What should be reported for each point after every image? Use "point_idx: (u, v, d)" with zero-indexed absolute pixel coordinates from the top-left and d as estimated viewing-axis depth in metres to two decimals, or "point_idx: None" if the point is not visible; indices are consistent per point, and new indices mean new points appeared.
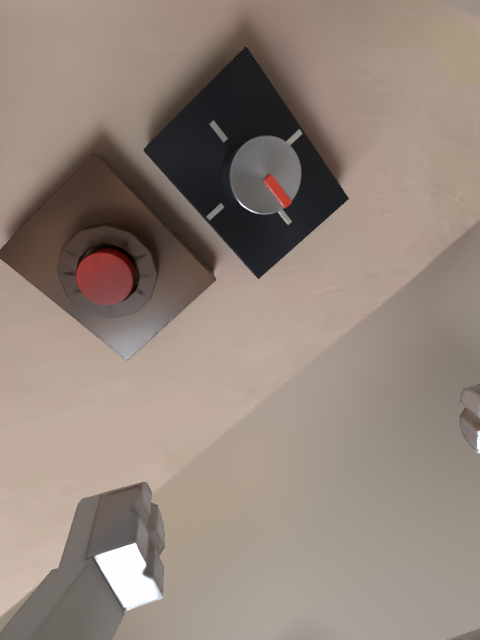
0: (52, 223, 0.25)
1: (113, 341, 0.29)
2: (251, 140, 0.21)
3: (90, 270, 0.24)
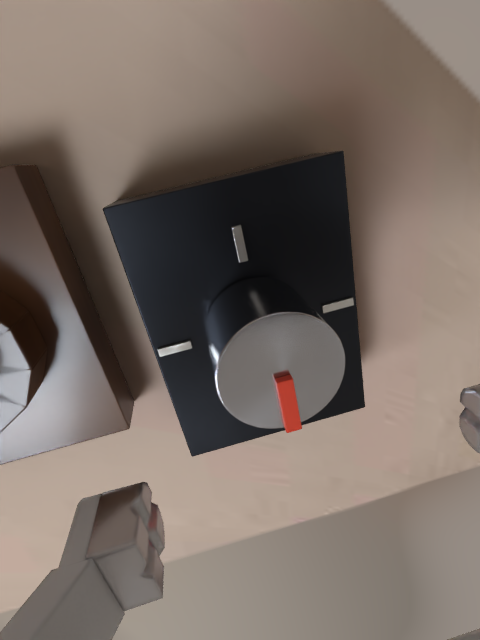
0: None
1: None
2: (288, 314, 0.11)
3: None
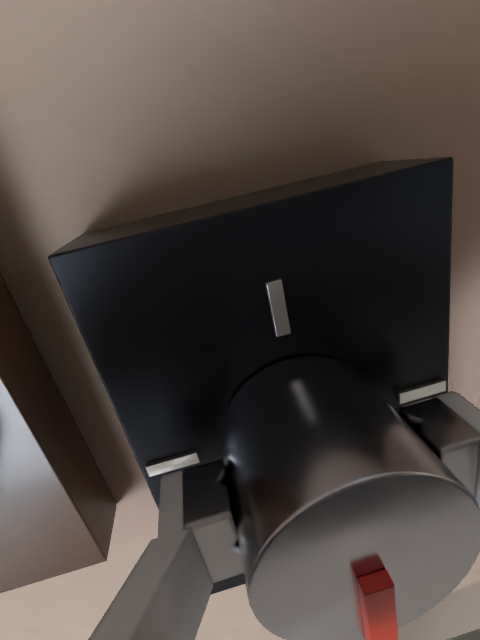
0: None
1: None
2: (396, 477, 0.06)
3: None
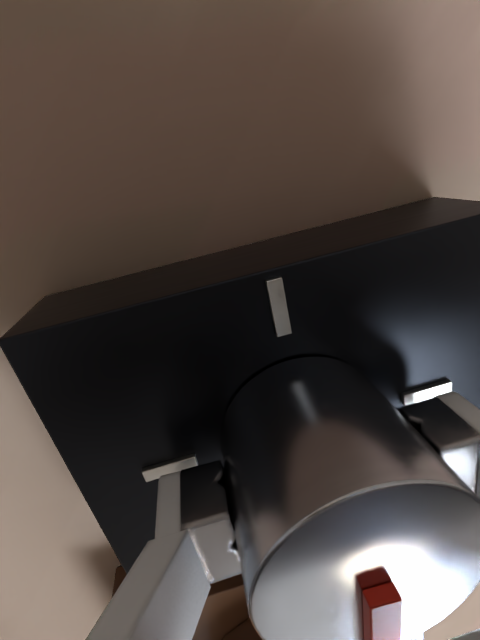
0: None
1: None
2: (412, 485, 0.05)
3: None
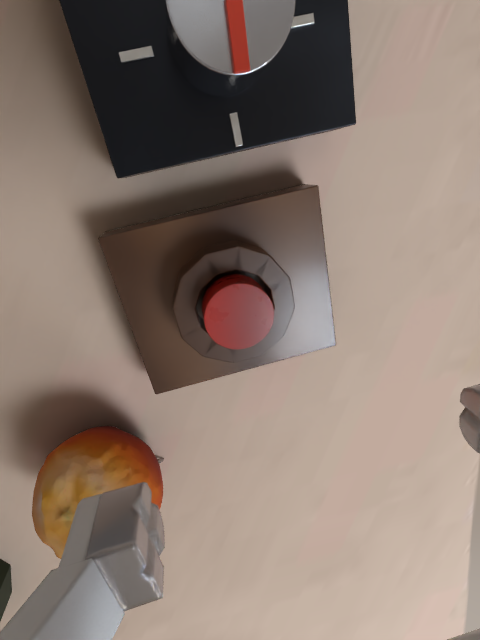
0: (151, 327, 0.21)
1: (306, 345, 0.23)
2: None
3: (220, 325, 0.18)
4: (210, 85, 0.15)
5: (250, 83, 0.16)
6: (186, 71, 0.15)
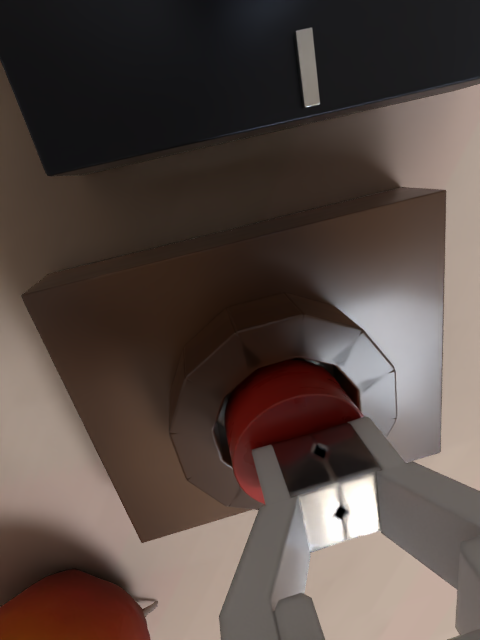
0: (132, 444, 0.12)
1: None
2: None
3: None
4: None
5: None
6: None
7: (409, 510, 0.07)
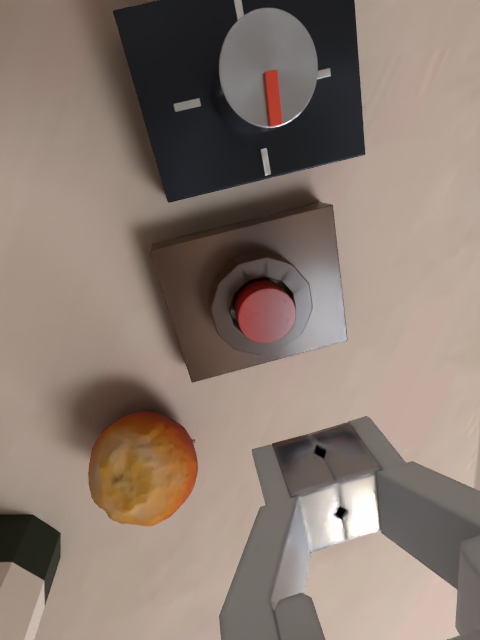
0: (190, 324, 0.25)
1: (322, 340, 0.27)
2: (276, 9, 0.15)
3: (251, 323, 0.22)
4: (247, 131, 0.18)
5: None
6: (228, 120, 0.18)
7: (409, 510, 0.07)
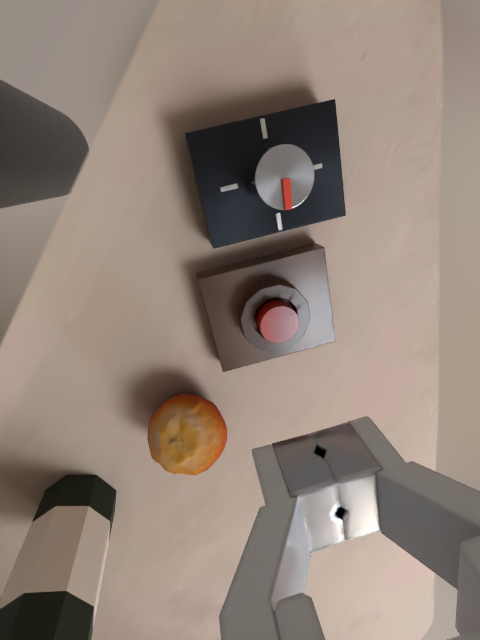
0: (223, 330, 0.35)
1: (316, 341, 0.37)
2: (290, 145, 0.25)
3: (269, 329, 0.32)
4: None
5: None
6: (257, 199, 0.28)
7: (409, 510, 0.07)
